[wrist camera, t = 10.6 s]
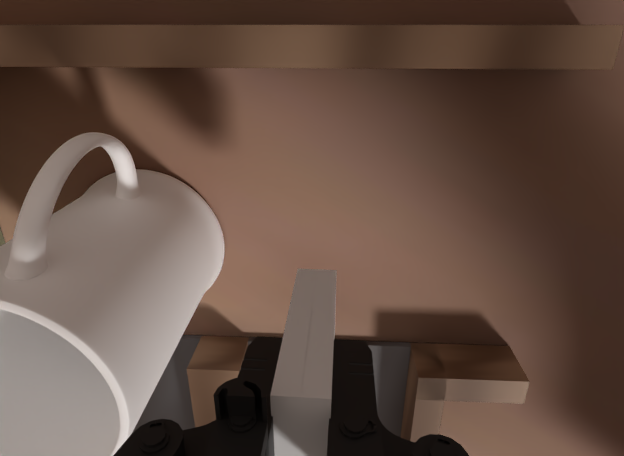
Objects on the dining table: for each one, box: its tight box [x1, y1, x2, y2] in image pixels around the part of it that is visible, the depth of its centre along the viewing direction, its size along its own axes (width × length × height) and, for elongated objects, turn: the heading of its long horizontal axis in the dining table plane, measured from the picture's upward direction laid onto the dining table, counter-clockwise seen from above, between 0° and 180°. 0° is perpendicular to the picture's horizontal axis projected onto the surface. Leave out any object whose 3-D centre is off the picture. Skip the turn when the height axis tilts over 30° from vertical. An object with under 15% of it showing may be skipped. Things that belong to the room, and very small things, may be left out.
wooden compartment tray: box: [0, 25, 624, 442], centre depth 23 cm, size 32×31×6 cm
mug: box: [0, 132, 225, 456], centre depth 18 cm, size 12×8×12 cm
